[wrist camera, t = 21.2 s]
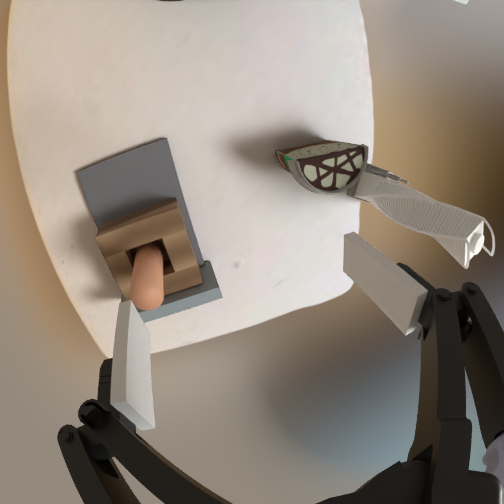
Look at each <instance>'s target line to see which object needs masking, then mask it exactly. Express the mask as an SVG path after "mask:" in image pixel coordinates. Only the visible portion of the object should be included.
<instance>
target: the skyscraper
mask: <svg viewBox="0 0 504 504" xmlns="http://www.w3.org/2000/svg"><path fill="white" fill-rule="evenodd" d="M390 179H394V180H396V181H399V182H401V181H402V182H405V183H407V184H409V182H408V181H405V180H402V178H401V177H398V176H395V175H392V172H390V171H386V170H383V169H380V168H378V167H376V166H374V165H370V164H366V167H365V170H364V172H363V174H362V176H361V177H360V178H359V180H358V181H357V182H356V183H355V184H354V185H353V186H352V187H350V188H349V189H348V192H347V195H348V196H351V197H354V198H358V199H361V200H364V201H367V202H370V203H372V204H373V205H374V206H375V207H376V208H377V209H378V210H380V211H381V212H382V213H383V214H384V215H386V216H387V217H388V218H390V219H391V220H393V221H395V222H396V223H398V224H400V225H402V226H404V227H406V228H408V229H410V230H413V231H416V232H420V233H423V234H427V235H430V236H432V237H433V238H435V239H436V240H437V241H438V242H439V243H440V244H441V245H442V246H443V247H444V248H445V249H446V250H447V251H448V252H449V253H450V254H451V255H452V256H453V257H454V258H455V259H456V260H457V261H458V262H459V263H460V264H461V265H462V266H463V267H464V268H466V269H467V268H468V266H469V260H470V259H471V258H472V256H474V254H475V255H476V254H478V253H479V251H480V250H481V248H483V249H484V250H485V251H486V252H487V253H488V254H489V255H490V256H493V254H494V250H495V238H494V234H493V231H492V229H491V227H490V225H489V223H488V222H487V221H486V219H485V218H483V217H481V216H479V215H476V214H474V213H471V212H468V211H466V210H463V209H461V208H458V207H455V206H452V205H449V204H446V203H442V202H439V201H436V200H434V199H432V198H431V197H429V196H427V195H425V194H423V193H421V192H419V191H417V190H415V189H413V188H411V187H408V186H406V185H403V184H400V183H398V182H395V181H392V180H390ZM483 222H485V223H486V224H487V226H488V227H489V229H490V231H491V234H492V241H493V246H492V247H493V248H492V252H490V251H489V250H488V249H487V248H486V247H485V246H484V245H483V243H484V236H483ZM465 265H466V266H465Z"/></svg>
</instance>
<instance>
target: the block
mask: <svg viewBox="0 0 504 504" xmlns="http://www.w3.org/2000/svg"><path fill="white" fill-rule="evenodd" d="M95 239H96V241H97V243H98V245H99V248H100V250H101V252H102V254H103V256H104V258H105V260H106V263H107V265H108V267H109V269H110V271H111V273H112V275H113V277H114V279H115V281H116V282H117V284H118V286H119V288H120V290H121V292H122V294H123V296H124V297H125V299H126V301H128V300H130V297H129V293H130V286H131V279H132V273H133V267H134V261H135V256H136V250H137V246H140V245H143V244H146V243H149V242H152V241H155V240H159V241H160V243H161V244H162V247H163V292H164V296H165V295H168V294H172V293H175V292H178V291H181V290H184V289H187V288H190V287H193V286H196V285H199V284H202V283H203V280H202V276H201V273H200V269H199V265H198V263H197V260H196V257H195V254H194V251H193V248H192V245H191V242H190V239H189V236H188V233H187V230H186V227H185V224H184V221H183V217H182V214H181V211H180V208H179V205H178V201H177V198H174V199H171V200H168V201H165V202H162V203H159V204H156V205H153V206H150V207H148V208H145V209H142V210H139V211H136V212H134V213H131V214H128V215H125V216H123V217H120V218H117V219H115V220H112V221H109V222H107V223H104V224H102V226H101V227H100V229H99V231H98V233H97V235H96V237H95Z"/></svg>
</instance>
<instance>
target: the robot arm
mask: <svg viewBox="0 0 504 504" xmlns="http://www.w3.org/2000/svg"><path fill="white" fill-rule="evenodd" d="M162 1H181V0H162ZM343 271H344V272H345V273H346V274H347V275H348V276H349V277H350V278H351V279H352V280H353V281H354V282H355V283H356V284H357V285H358V286H359V287H360V288H361V289H362V290H363V291H364V292H365V293H366V294H367V295H368V296H369V297H370V298H371V299H372V300H373V301H374V302H375V303H376V305H377V306H378V307H379V308H380V309H381V310H382V311H383V312H384V313H385V314H386V315H387V316H388V317H389V318H390V319H391V320H392V321H393V322H394V324H395V325H396V326H397V327H398V328H399V329H400V330H401V331H402V332H403V333H404V334H405V335H407V334H409V333H411V332H412V331H414V330H415V329H416V327H417V324H418V322H420V324H421V325H422V326H421V329H420V332H419V334H418V338H417V339H419V338H420V336H421V374H420V393H419V405H418V414H417V424H416V430H415V437H414V441H413V444H412V446H411V448H410V451H409V454H408V458H407V462H403V463H401V462H400V461H399V462H397V463H395V464H394V465H392V466H390V467H389V468H387V469H386V470H384V471H382V472H381V473H379V474H377V475H376V476H375V477H373V478H372V479H370V480H369V481H367V482H366V483H365V484H364V485H363V486H361V487H360V488H359V489H357V490H356V491H355V492H354V493H350V494H345V495H341V496H337V497H332V498H329V499H326V500H324V501H321V502H319V503H317V504H502V489H503V488H504V332H503V330H502V328H501V326H500V324H499V322H498V320H497V318H496V316H495V314H494V312H493V310H492V308H491V307H490V305H489V303H488V301H487V299H486V298H485V296H484V294H483V292H482V291H481V289H480V288H479V287H478V286H477V285H476V284H474V283H471V282H467V283H464V284H463V285H462V288H461V291H457V292H453V293H451V292H450V291H448V290H447V289H443V288H439V289H435V288H434V287H433V286H432V285H430V284H429V283H428V282H427V281H425V280H424V279H423V278H422V277H420V276H419V275H418V274H417V273H416V272H414V271H413V270H412V269H411V268H410V267H408V266H407V265H404V264H402V263H397V264H395V263H394V262H393V261H391V260H390V259H389V258H388V257H386V256H385V255H384V254H383V253H381V252H380V251H379V250H377V249H376V248H375V247H373V246H372V245H371V244H370V243H368V242H367V241H365V240H364V239H363V238H362V237H360V236H359V235H358V234H356V233H355V232H352V233H348V234H345V235H344V264H343ZM470 319H471V320H470ZM471 321H472V322H471ZM464 367H465V369H464ZM465 370H466V373H467V376H468V380H469V383H470V387H471V390H472V394H473V398H474V402H475V406H476V410H477V415H478V419H479V425H480V430H481V434H482V438H483V441H484V444H485V447H486V449H487V451H486V454H485V455H484V456H483V463H484V464H485V465H487V468H486V471H485V472H479V471H471V470H468V468H469V461H470V451H471V438H472V423H471V420H469V419H467V418H466V389H465V388H466V387H465ZM99 377H100V378H99V385H98V398H97V399H98V400H95V399H90V400H87V401H85V402H84V403H83V404H82V405H81V406H80V408H79V411H78V417H79V419H80V421H81V422H82V423H83V424H85V425H83V426H81V427H78V428H75V427H74V426H72V425H65V426H63V427H62V428H61V429H60V430H59V432H58V436H57V438H58V443H59V446H60V449H61V451H62V454H63V457H64V460H65V462H66V465H67V467H68V469H69V472H70V475H71V477H72V479H73V481H74V484H75V486H76V488H77V490H78V492H79V494H80V496H81V498H82V500H83V502H84V504H141V503H140V502H139V501H138V499H137V498H136V496H135V495H134V494H133V492H132V490H131V489H130V487H129V486H128V484H127V483H126V481H125V479H124V478H123V476H122V474H121V473H120V471H119V469H118V468H117V466H116V464H115V462H114V461H113V459H112V457H115V458H116V459H117V460H118V461H119V462H120V463H121V464H122V465H123V466H124V467H125V468H126V469H127V470H128V471H129V472H130V473H131V474H132V475H133V476H134V477H135V478H136V479H137V480H138V481H139V482H140V483H141V484H142V485H144V486H145V487H146V488H147V489H148V490H149V491H150V492H151V493H153V494H154V495H155V496H156V497H157V498H159V499H160V500H161V501H162V502H163V503H165V504H232V503H230V502H229V501H227V500H225V499H224V498H222V497H220V496H219V495H217V494H215V493H213V492H212V491H210V490H209V489H207V488H206V487H204V486H203V485H201V484H200V483H198V482H197V481H196V480H194V479H192V478H191V477H190V476H188V475H187V474H185V473H184V472H183V471H182V470H180V469H179V468H178V467H176V466H175V465H174V464H172V463H171V462H170V461H168V460H167V459H166V458H164V456H162V455H161V454H160V453H159V452H157V451H156V450H155V449H154V448H153V447H152V446H150V445H149V444H148V443H147V442H146V441H145V440H144V439H143V438H141V437H140V436H139V435H138V434H137V433H136V427H138V428H139V429H140V430H147V429H153V428H155V419H154V409H153V398H152V383H151V365H150V333H149V331H148V329H147V328H146V326H145V324H144V322H143V320H142V319H141V317H140V315H139V313H138V311H137V310H136V308H135V306H134V304H133V302H132V300H128V301H125V302H122V303H119V310H118V317H117V324H116V332H115V341H114V351H113V358H111V359H106V360H104V361H103V363H102V365H101V368H100V374H99Z"/></svg>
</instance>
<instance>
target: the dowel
mask: <svg viewBox="0 0 504 504" xmlns="http://www.w3.org/2000/svg"><path fill="white" fill-rule="evenodd" d="M129 297H130V300H132V302H133V304H134V306H135V307H137V308H138V309H141V310H146V311H149V310H154V309H156V308H158V307H159V306H160V305H161V304H162V302H163V299H164V292H163V247H162V244H161V243H160V241H159V240H155V241H152V242H149V243H146V244H143V245H140V246H137V250H136V256H135V261H134V267H133V273H132V279H131V286H130V293H129Z"/></svg>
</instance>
